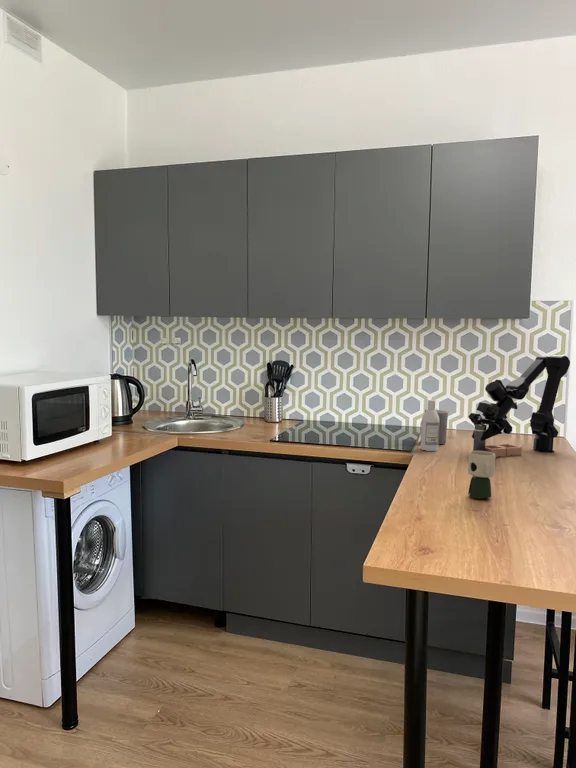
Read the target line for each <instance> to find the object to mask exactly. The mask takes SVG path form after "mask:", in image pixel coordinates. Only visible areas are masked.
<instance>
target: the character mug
mask: <svg viewBox="0 0 576 768" xmlns="http://www.w3.org/2000/svg"><path fill="white" fill-rule="evenodd" d="M495 465H496V457H495V454H494V453H492V452H487V451H473V450H469V452H468V467H467V472H468V473H467V474H468V475H470V476H472V477H471V479H470V482H469V487H468V495H467V496H469V497H470V498H474V499H480V500H483V499H489V498H492V484H491V483H492V482H491V479H490V478H493V477H494V476H495V470H496V469H495V467H496V466H495Z"/></svg>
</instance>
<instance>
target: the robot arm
mask: <svg viewBox="0 0 576 768" xmlns="http://www.w3.org/2000/svg"><path fill="white" fill-rule="evenodd" d="M570 366H571V360H570V359H569V357H568V356H567V355H559V354H557V355H555V354H552V355H550V356H548V355H538V356H536V357H535V359H534V360H533V362H532V363H531V364H530V365H529V366H528V368H526V370H525V371H524V372H523V373H522V374H521V375H520V376H519V377H518V378H517V379H513V380H512V381H510V382H508V384H506V386H505V385H504V384H503V382H502V381H501V379H498V378H497V379H495V380H494V381H491V382H490V383H488V384H486V385H485V387H484V388H485V389H484V390H485V392H486V393H487V395H488V396H489V397H490V399H491V401H493V402H496V403H493V402H491V403H487V402H480V401H479V403H478V405H477V408H476V411H478V412H480V413H482V414H480V413H476V412H471V413H470V414H469V415H468V417H467V418H468V419H469V420H470V422H471V423H472V424H473V426H475V424H484V425H487V428H486V431H485V433H484V434H483V436H482V437H481V441H484V440H486V441H487V439H490V438H492V437H493V438H494V437H495V436H498V435H501V434H507V435H510V434H511V433H512V432H513V426H512V425H511V424H510V421H508V419H507V418H508V416H507V415H508V413H509V412H510V411H511V410H512V409H513V410H518V405H517V404H518V402H517V401H518V400H519V401H521V400H523V399H524V398H526V395H527V394H528V392H529V389H530V386H531V384H532V383H534V381H535V380H536V379H537V378H538V377H539V376H540V375H541V373H542V372H544V370H546V374H547V378H546V383H545V386H544V390H543V393H542V398H541V400H540V405H539V409H538V410H536V412H535V411H533V412H532V413H531V417H530V420H529V422H530V423H529V424H530V425H529V426H530V430H531V434H533V435H534V436H535V437H534V438H533V445H532V446H533V447H532V449H534V451H537V452H543V453H544V452H545V453H546V452H547V453H555V450H554V441H555V440H554V439H555V438H557V437H558V435H559V431H558V429H557V428H556V427H555V417H554V414H553V410H554V407H555V401H556V398H557V395H558V391H559V387H560V383H561V379H562V378H563V377H564V376H566V374H567V372H568V370H569V368H570ZM514 400H517V401H514ZM471 438H472V439H473V440H474V430H473V432H472V435H471Z"/></svg>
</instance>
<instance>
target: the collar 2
mask: <svg viewBox="0 0 576 768" xmlns="http://www.w3.org/2000/svg"><path fill="white" fill-rule="evenodd" d="M495 445H496V446H499V447H503V448H507V449H506V456H505V457H509V456H511V455H512V456H521V455H522V453H523V452H522V449H523V447H522V446H519V445H516V444H510V443H499V444H495ZM512 456H511V457H512Z"/></svg>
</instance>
